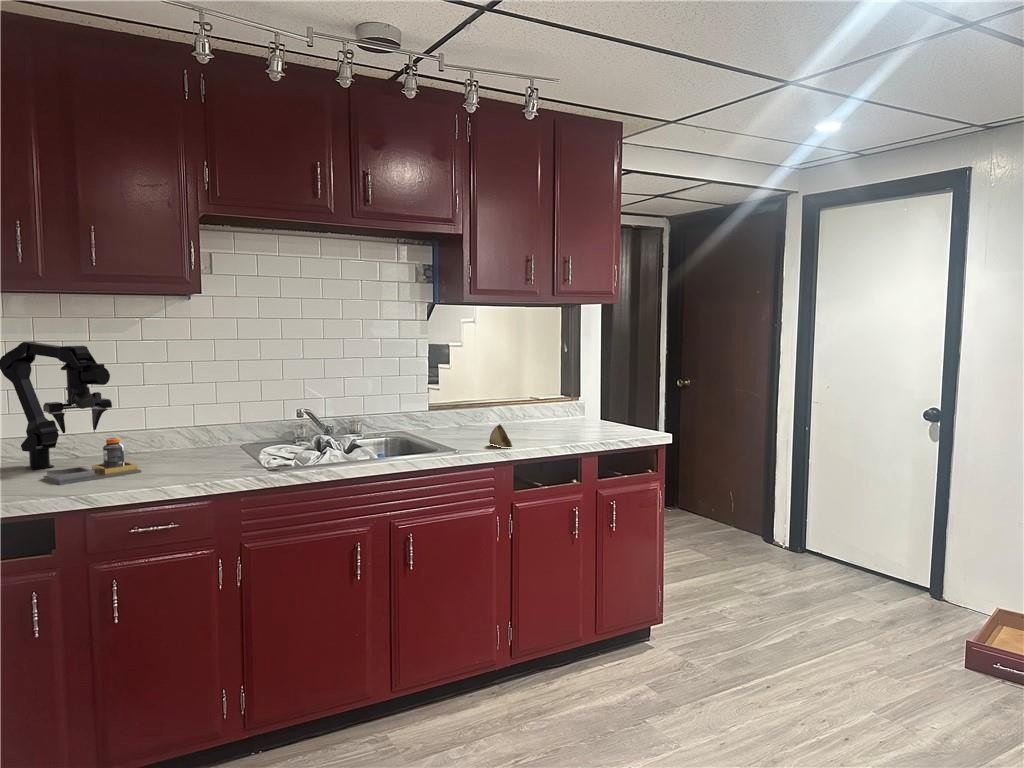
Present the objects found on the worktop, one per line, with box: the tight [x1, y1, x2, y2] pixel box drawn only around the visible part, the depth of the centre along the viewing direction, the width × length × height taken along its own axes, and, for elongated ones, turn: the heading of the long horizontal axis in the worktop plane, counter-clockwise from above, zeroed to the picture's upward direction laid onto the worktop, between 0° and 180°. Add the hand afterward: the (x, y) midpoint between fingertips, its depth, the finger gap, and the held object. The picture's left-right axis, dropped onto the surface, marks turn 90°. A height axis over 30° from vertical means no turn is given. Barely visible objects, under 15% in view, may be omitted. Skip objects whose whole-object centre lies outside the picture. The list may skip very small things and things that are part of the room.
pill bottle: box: [102, 437, 125, 468], centre depth 235 cm, size 6×6×11 cm
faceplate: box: [42, 460, 142, 486], centre depth 230 cm, size 13×24×2 cm, turn 141°
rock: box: [488, 423, 513, 447], centre depth 289 cm, size 11×9×10 cm
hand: (79, 431), depth 237 cm, fingers open, 9 cm apart
